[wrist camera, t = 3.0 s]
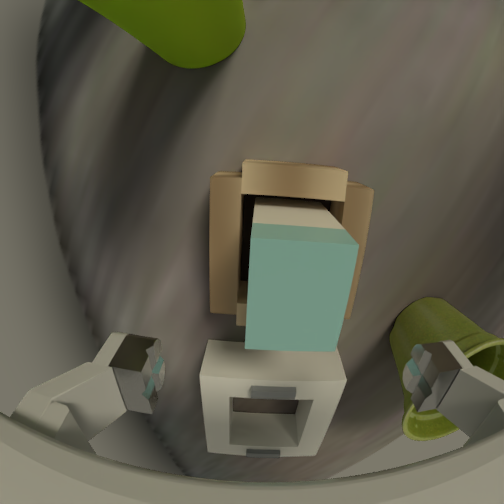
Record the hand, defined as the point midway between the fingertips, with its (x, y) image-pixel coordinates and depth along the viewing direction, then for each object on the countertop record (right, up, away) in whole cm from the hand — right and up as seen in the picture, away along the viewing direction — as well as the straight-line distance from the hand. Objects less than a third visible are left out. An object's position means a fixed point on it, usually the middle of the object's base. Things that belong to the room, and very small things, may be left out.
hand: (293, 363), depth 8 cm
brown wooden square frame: (+1, +4, +10) cm, 11 cm away
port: (0, -9, +15) cm, 18 cm away
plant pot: (+13, -3, +13) cm, 18 cm away
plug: (+1, +4, +10) cm, 11 cm away
